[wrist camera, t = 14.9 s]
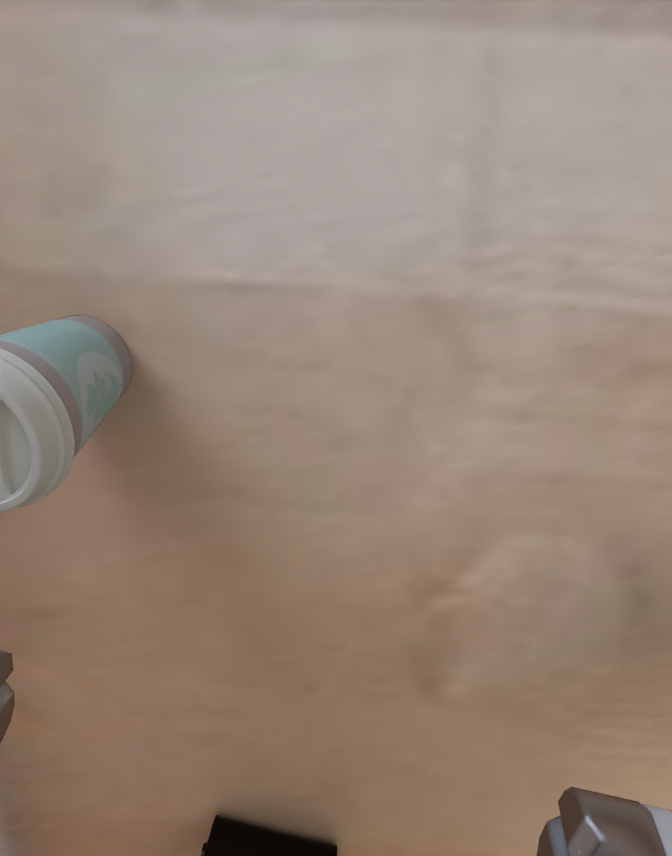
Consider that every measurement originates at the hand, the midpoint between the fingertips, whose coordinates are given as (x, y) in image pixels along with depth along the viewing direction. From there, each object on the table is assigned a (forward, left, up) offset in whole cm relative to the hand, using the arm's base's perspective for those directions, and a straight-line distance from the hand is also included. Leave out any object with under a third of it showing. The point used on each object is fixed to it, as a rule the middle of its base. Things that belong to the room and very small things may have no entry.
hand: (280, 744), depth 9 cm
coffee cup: (+17, +8, -29) cm, 35 cm away
